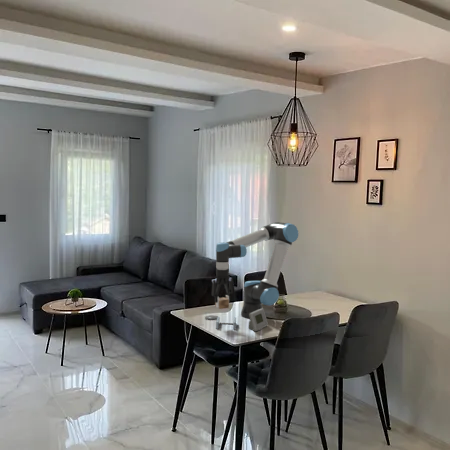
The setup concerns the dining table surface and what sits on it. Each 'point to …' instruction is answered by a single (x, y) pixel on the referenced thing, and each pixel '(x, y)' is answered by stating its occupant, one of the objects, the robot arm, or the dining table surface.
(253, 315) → the digital clock
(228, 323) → the channel
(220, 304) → the block
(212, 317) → the coaster
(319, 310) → the dining table surface
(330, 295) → the dining table surface
